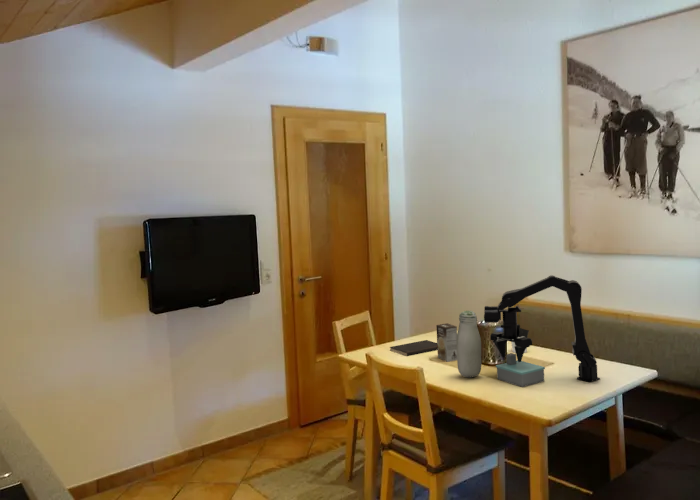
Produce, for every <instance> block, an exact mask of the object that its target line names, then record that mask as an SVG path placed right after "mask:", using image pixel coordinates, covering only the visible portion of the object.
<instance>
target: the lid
mask: <svg viewBox="0 0 700 500" xmlns="http://www.w3.org/2000/svg"><path fill="white" fill-rule="evenodd" d="M505 358H506V362H505V363H501V364H500V363H499V364H496V365H495V368H496V369H497V368H500V369H503V370H507V371H510V372H514V373H517V374H520V375H523V374H527V373H531V372H535V371H539V370H543V369H544V370H546V367H545V366H542V365H539V364H534V363H531V362H528V361H523V360H521V362H518V359H517V355H516V353H514V352H510V353H507V354H506V353H505Z"/></svg>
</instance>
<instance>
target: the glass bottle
mask: <svg viewBox="0 0 700 500" xmlns="http://www.w3.org/2000/svg"><path fill="white" fill-rule="evenodd" d="M458 320H459V325H458V328H457V338H456V348H457V360H456V363H457V364H456V365H457V369H458V372H459V374H460V375H461V376H462V377H465V378H474V377H475V378H476V377H478V375H479V374H481V370H482V341H481V340H482V339H481V335H480V332H479V328H478V323H477V322H478V318H477V314H476V312H475V311H474V310H464V311H462V312H460V313H459V317H458Z"/></svg>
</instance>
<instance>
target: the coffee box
mask: <svg viewBox="0 0 700 500" xmlns="http://www.w3.org/2000/svg"><path fill="white" fill-rule="evenodd" d="M457 333H458V326H456V325H453V324H451V323H442V324H436V343H437V349H438V350H437V359H440V360H442V361H444V362H448V363H449V362H455V361H457V348H456V338H457Z"/></svg>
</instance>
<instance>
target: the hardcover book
mask: <svg viewBox="0 0 700 500" xmlns="http://www.w3.org/2000/svg"><path fill="white" fill-rule="evenodd" d="M389 349H390V351H391V352H394V353H397V354H400V355H404V356H406V357H410V356H415V355H420V354H425V353H431V352H435V351H438V349H437V342H434V341H431V340H427V339H426V340H420V341H414V342H409V343H404V344H399V345H398V344H397V345H394V346H392V345H391V346H389Z"/></svg>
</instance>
